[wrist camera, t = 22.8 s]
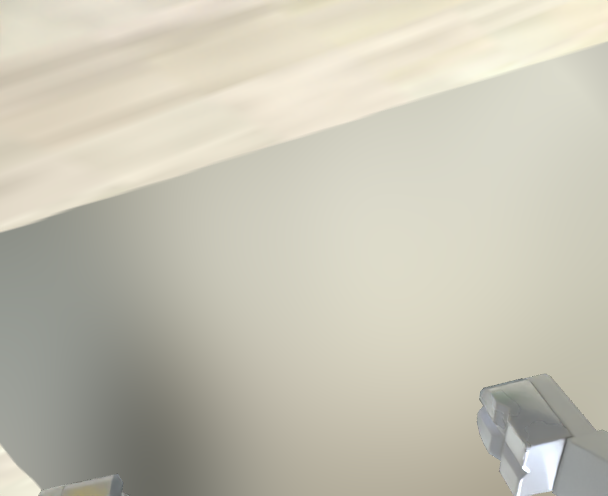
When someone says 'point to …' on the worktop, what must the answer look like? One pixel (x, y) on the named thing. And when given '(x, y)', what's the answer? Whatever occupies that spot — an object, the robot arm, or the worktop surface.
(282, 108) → the worktop surface
